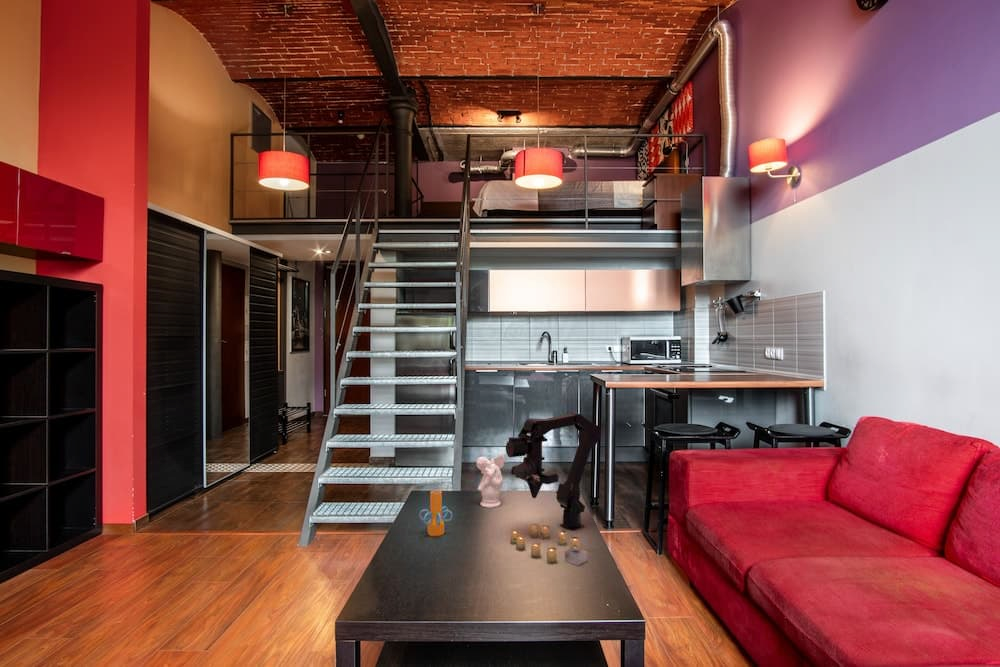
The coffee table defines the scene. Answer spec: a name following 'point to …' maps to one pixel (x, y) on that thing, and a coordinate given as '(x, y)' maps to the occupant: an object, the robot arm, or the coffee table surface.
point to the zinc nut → (576, 556)
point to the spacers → (545, 534)
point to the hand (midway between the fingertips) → (534, 497)
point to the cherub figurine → (490, 480)
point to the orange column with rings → (436, 514)
